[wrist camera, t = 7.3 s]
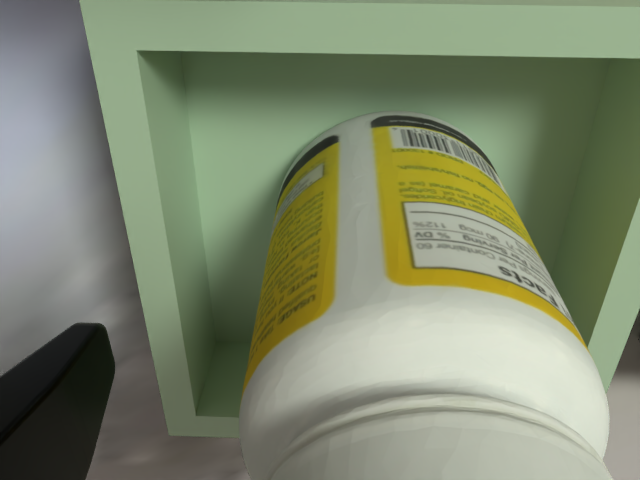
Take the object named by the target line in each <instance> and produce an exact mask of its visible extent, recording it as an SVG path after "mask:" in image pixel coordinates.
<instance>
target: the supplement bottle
mask: <svg viewBox="0 0 640 480" xmlns="http://www.w3.org/2000/svg"><path fill="white" fill-rule="evenodd" d="M239 436H240V445H241V451H242V456H243V459H244V463H245V466H246V469H247V471H248V473H249V476H250V478H251V480H613V478H612V477H611V475H610V473H609V472H608V469H607V467H606V466H605V464H604V462H603V457H604V455H605V450H606V446H607V442H608V436H609V408H608V401H607V397H606V394H605V390H604V387H603V384H602V381H601V378H600V375H599V372H598V369H597V367H596V365H595V363H594V360H593V358H592V356H591V354H590V352H589V350H588V348H587V346H586V345H585V343H584V341H583V339H582V337H581V335H580V333H579V331H578V329H577V327H576V326H575V324H574V322H573V320H572V318H571V316H570V313H569V311H568V309H567V307H566V306H565V304H564V302H563V300H562V298H561V296H560V294H559V292H558V290H557V289H556V287H555V285H554V283H553V281H552V279H551V277H550V275H549V273H548V271H547V269H546V267H545V265H544V263H543V261H542V259H541V257H540V255H539V253H538V251H537V249H536V247H535V246H534V244H533V242H532V240H531V238H530V236H529V234H528V232H527V230H526V228H525V226H524V224H523V222H522V220H521V219H520V217H519V215H518V213H517V211H516V209H515V207H514V205H513V203H512V202H511V200H510V198H509V196H508V194H507V192H506V190H505V188H504V186H503V184H502V182H501V180H500V179H499V177H498V175H497V172H496V170H495V168H494V167H493V165H492V163H491V162H490V160H489V159H488V157H487V156H486V154H485V153H484V152H483V150H482V149H481V148H480V147H479V146H478V145H477V144H476V143H475V142H474V141H473V140H472V139H471V138H470V137H469V136H468V135H466V134H465V133H464V132H463V131H461V130H460V129H458V128H457V127H455V126H453V125H451V124H449V123H448V122H445V121H443V120H441V119H438V118H435V117H432V116H429V115H426V114H422V113H417V112H411V111H381V112H373V113H368V114H364V115H361V116H357V117H354V118H352V119H349V120H346V121H344V122H342V123H340V124H338V125H336V126H334V127H332V128H330V129H329V130H327V131H325V132H324V133H323V134H321V135H320V136H318V137H317V138H316V139H314V140H313V141H312V142H311V143H310V144H309V145H308V146H306V147H305V148H304V149H303V150H302V152H301V153H300V154H299V155H298V156H297V158H296V159H295V160H294V162H293V163H292V165H291V166H290V168H289V170H288V172H287V174H286V176H285V178H284V181H283V183H282V186H281V189H280V192H279V197H278V201H277V206H276V212H275V217H274V221H273V226H272V232H271V237H270V244H269V249H268V255H267V260H266V265H265V271H264V276H263V282H262V288H261V293H260V299H259V304H258V309H257V315H256V321H255V326H254V331H253V336H252V341H251V347H250V353H249V359H248V365H247V370H246V375H245V380H244V385H243V391H242V397H241V404H240V411H239Z"/></svg>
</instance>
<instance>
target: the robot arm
mask: <svg viewBox="0 0 640 480" xmlns="http://www.w3.org/2000/svg"><path fill="white" fill-rule="evenodd" d="M114 374H115V361H114V357H113V353H112V349H111V345H110V341H109V338H108V334H107V330H106V328H105V327H104V325H102V324H100V323H76V324H74V325H72V326H71V327H69V328H68V329H66V330H65V331H64V332H62V333H61V334H59V335H58V336H57V337H55V338H54V339H52V340H51V341H49V342H48V343H47V344H45V345H44V346H42V347H41V348H40V349H38V350H37V351H35V352H34V353H33V354H31V355H30V356H28V357H27V358H26V359H24V360H23V361H21V362H20V363H19V364H17V365H16V366H14V367H13V368H12V369H10V370H9V371H7V372H6V373H5V374H3V375H2V376H0V480H85V479H86V476H87V473H88V470H89V467H90V464H91V461H92V457H93V454H94V450H95V447H96V443H97V439H98V435H99V432H100V428H101V424H102V420H103V416H104V413H105V409H106V405H107V401H108V398H109V394H110V390H111V386H112V383H113V379H114Z"/></svg>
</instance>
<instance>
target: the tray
mask: <svg viewBox="0 0 640 480" xmlns="http://www.w3.org/2000/svg"><path fill="white" fill-rule="evenodd" d="M79 2H80V7H81V12H82V16H83V21H84V26H85V31H86V36H87V41H88V46H89V50H90V55H91V60H92V65H93V70H94V75H95V80H96V84H97V89H98V94H99V99H100V104H101V109H102V114H103V118H104V123H105V128H106V133H107V138H108V143H109V148H110V152H111V157H112V162H113V167H114V172H115V177H116V182H117V186H118V191H119V196H120V201H121V206H122V211H123V216H124V220H125V225H126V230H127V235H128V240H129V245H130V250H131V254H132V259H133V264H134V269H135V274H136V279H137V284H138V288H139V293H140V298H141V303H142V308H143V313H144V318H145V322H146V327H147V332H148V337H149V342H150V347H151V352H152V356H153V361H154V366H155V371H156V376H157V381H158V386H159V391H160V395H161V400H162V405H163V410H164V415H165V420H166V425H167V429H168V434H169V436H191V437H220V438H240V436H239V411H240V404H241V397H242V391H243V385H244V380H245V375H246V370H247V365H248V359H249V353H250V347H251V341H252V336H253V331H254V326H255V321H256V315H257V309H258V304H259V299H260V293H261V288H262V282H263V276H264V271H265V265H266V260H267V255H268V249H269V244H270V237H271V232H272V226H273V221H274V217H275V212H276V206H277V201H278V197H279V192H280V189H281V186H282V183H283V181H284V178H285V176H286V174H287V172H288V170H289V168H290V166H291V165H292V163H293V162H294V160H295V159H296V158H297V156H298V155H299V154H300V153H301V152H302V150H303V149H304V148H305V147H306V146H308V145H309V144H310V143H311V142H312V141H313V140H314V139H316V138H317V137H318V136H320V135H321V134H323V133H324V132H325V131H327V130H329V129H330V128H332V127H334V126H336V125H338V124H340V123H342V122H344V121H346V120H349V119H352V118H354V117H357V116H361V115H364V114H368V113H373V112H381V111H411V112H417V113H422V114H426V115H429V116H432V117H435V118H438V119H441V120H443V121H445V122H448V123H449V124H451V125H453V126H455V127H457V128H458V129H460V130H461V131H463V132H464V133H465V134H466V135H468V136H469V137H470V138H471V139H472V140H473V141H474V142H475V143H476V144H477V145H478V146H479V147H480V148H481V149H482V150H483V152H484V153H485V154H486V156H487V157H488V159H489V160H490V162H491V163H492V165H493V167H494V168H495V170H496V172H497V175H498V177H499V179H500V180H501V182H502V184H503V186H504V188H505V190H506V192H507V194H508V196H509V198H510V200H511V202H512V203H513V205H514V207H515V209H516V211H517V213H518V215H519V217H520V219H521V220H522V222H523V224H524V226H525V228H526V230H527V232H528V234H529V236H530V238H531V240H532V242H533V244H534V246H535V247H536V249H537V251H538V253H539V255H540V257H541V259H542V261H543V263H544V265H545V267H546V269H547V271H548V273H549V275H550V277H551V279H552V281H553V283H554V285H555V287H556V289H557V290H558V292H559V294H560V296H561V298H562V300H563V302H564V304H565V306H566V307H567V309H568V311H569V313H570V316H571V318H572V320H573V322H574V324H575V326H576V327H577V329H578V331H579V333H580V335H581V337H582V339H583V341H584V343H585V345H586V346H587V348H588V350H589V352H590V354H591V356H592V358H593V360H594V363H595V365H596V367H597V369H598V372H599V375H600V378H601V381H602V384H603V387H604V390H605V394H606V393H607V390H608V388H609V385H610V383H611V380H612V378H613V375H614V372H615V370H616V367H617V365H618V362H619V360H620V357H621V355H622V352H623V350H624V347H625V345H626V342H627V339H628V337H629V334H630V332H631V329H632V327H633V324H634V322H635V319H636V317H637V314H638V311H639V309H640V0H79Z"/></svg>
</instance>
